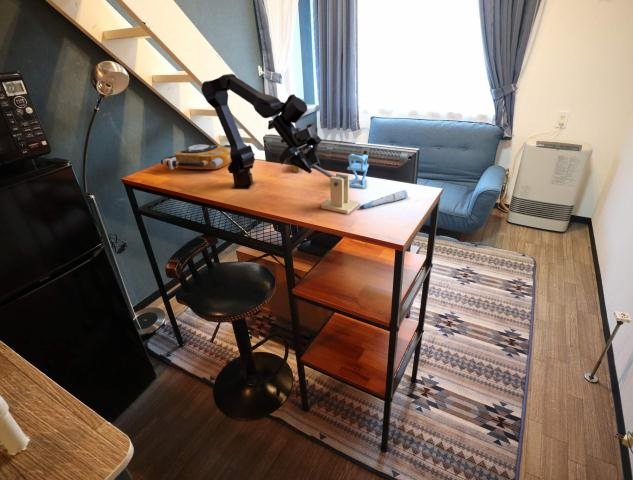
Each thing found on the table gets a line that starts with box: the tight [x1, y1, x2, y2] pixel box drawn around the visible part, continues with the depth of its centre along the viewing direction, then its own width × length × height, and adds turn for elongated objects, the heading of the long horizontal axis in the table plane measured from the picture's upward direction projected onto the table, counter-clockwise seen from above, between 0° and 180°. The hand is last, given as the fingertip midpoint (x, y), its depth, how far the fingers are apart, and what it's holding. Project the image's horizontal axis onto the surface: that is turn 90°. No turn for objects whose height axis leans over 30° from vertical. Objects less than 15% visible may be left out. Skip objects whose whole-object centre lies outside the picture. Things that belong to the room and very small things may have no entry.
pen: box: [358, 189, 409, 209], centre depth 116 cm, size 19×3×3 cm, turn 118°
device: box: [160, 144, 232, 170], centre depth 158 cm, size 23×8×30 cm
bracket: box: [320, 172, 359, 215], centre depth 114 cm, size 10×8×11 cm
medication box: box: [291, 164, 302, 173], centre depth 152 cm, size 12×3×4 cm, turn 171°
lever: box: [308, 161, 346, 183], centre depth 113 cm, size 13×6×2 cm, turn 59°
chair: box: [346, 153, 370, 189], centre depth 131 cm, size 8×8×12 cm
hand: (315, 170), depth 115 cm, fingers closed on lever, 5 cm apart
